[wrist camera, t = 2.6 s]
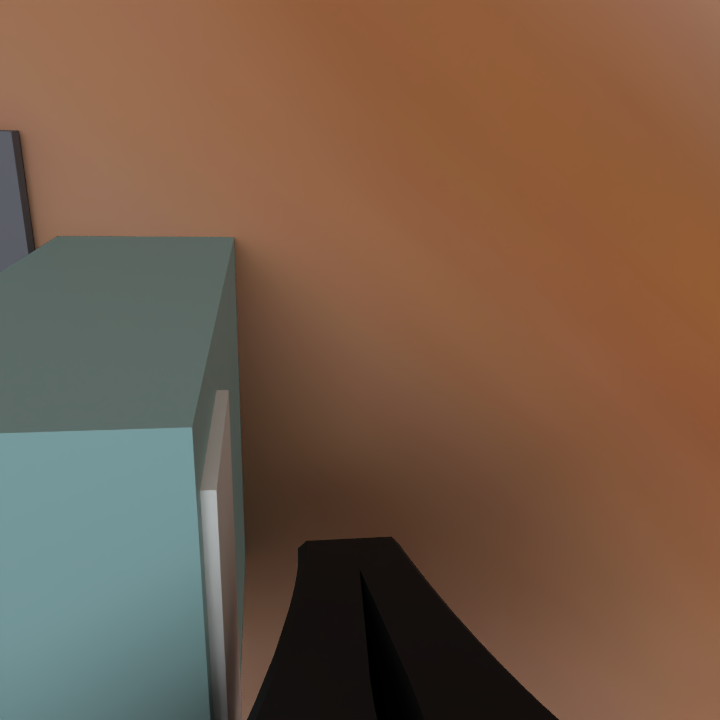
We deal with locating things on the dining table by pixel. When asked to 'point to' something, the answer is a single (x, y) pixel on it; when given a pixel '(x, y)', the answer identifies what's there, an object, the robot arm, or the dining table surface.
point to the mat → (13, 203)
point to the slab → (121, 481)
